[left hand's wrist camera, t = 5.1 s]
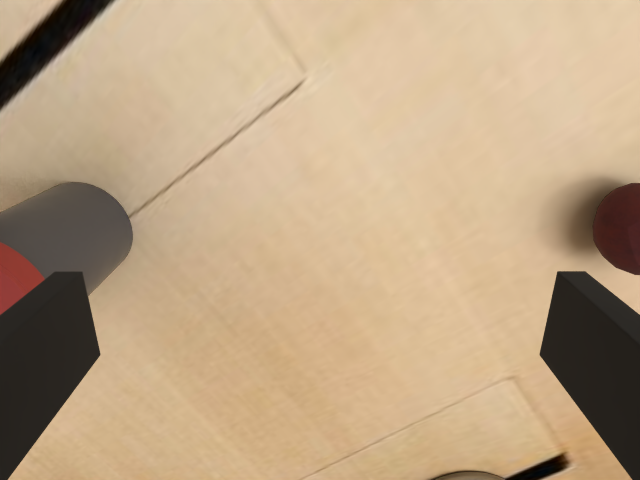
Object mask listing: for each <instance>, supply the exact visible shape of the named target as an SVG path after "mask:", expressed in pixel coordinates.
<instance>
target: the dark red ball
mask: <svg viewBox="0 0 640 480" xmlns="http://www.w3.org/2000/svg"><path fill="white" fill-rule="evenodd" d="M593 237H594V242H595V244H596V246H597V248H598V249H599V251H600V253H601V254H602V256H603V257H604V258H606V259H607V260H608V261H609V262H610V263H611V264H612V265H613V266H615V267H616V268H618V269H621V270H624V271H626V272H629V273H632V274H634V275H640V183H631V184H628V185H625V186H622V187H619V188H617V189H615V190H613V191H612V192H611V193H610V194H608V195H607V196H606V197H605V198H604V199H603V201H602V202H601V204H600V205H599V207H598V209H597V213H596V216H595V219H594V223H593Z"/></svg>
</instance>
